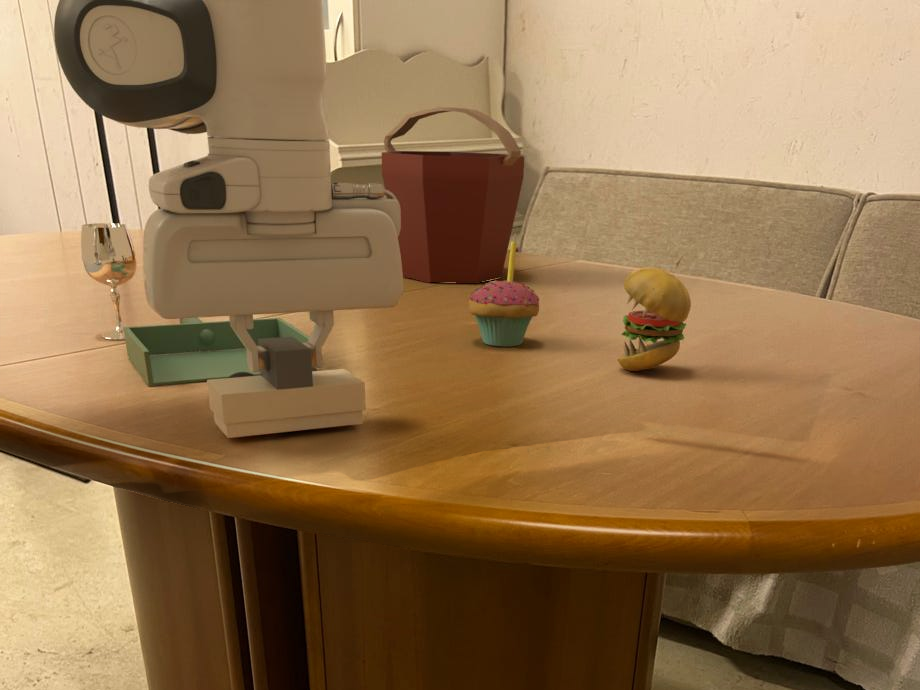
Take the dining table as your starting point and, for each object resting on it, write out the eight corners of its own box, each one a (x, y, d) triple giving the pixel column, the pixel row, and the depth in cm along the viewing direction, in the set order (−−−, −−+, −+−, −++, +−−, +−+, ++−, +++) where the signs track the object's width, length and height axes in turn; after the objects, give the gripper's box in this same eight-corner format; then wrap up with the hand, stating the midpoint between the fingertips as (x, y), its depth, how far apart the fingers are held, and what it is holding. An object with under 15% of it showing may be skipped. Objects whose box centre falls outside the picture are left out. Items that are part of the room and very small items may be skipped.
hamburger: (625, 360, 106) (637, 247, 100) (687, 368, 103) (703, 252, 97) (606, 374, 99) (618, 255, 94) (673, 383, 97) (689, 260, 91)
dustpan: (316, 371, 97) (314, 339, 95) (148, 386, 90) (143, 351, 88) (258, 330, 114) (256, 302, 113) (114, 340, 107) (109, 310, 106)
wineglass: (85, 336, 109) (65, 224, 103) (126, 329, 113) (110, 221, 107) (116, 343, 106) (97, 229, 100) (157, 335, 110) (142, 225, 104)
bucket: (357, 271, 159) (351, 104, 147) (453, 262, 173) (455, 108, 160) (451, 291, 144) (453, 106, 132) (549, 280, 157) (559, 110, 145)
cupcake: (487, 333, 117) (490, 229, 111) (549, 341, 114) (555, 235, 108) (455, 345, 110) (457, 236, 104) (520, 354, 107) (526, 242, 101)
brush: (366, 424, 79) (364, 345, 76) (225, 439, 74) (217, 355, 71) (346, 409, 83) (343, 333, 80) (211, 422, 78) (202, 342, 75)
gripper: (385, 180, 76) (388, 351, 83) (125, 178, 68) (152, 369, 75) (415, 186, 71) (415, 367, 78) (140, 185, 63) (167, 388, 70)
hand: (285, 368), depth 76 cm, fingers closed on brush, 3 cm apart
